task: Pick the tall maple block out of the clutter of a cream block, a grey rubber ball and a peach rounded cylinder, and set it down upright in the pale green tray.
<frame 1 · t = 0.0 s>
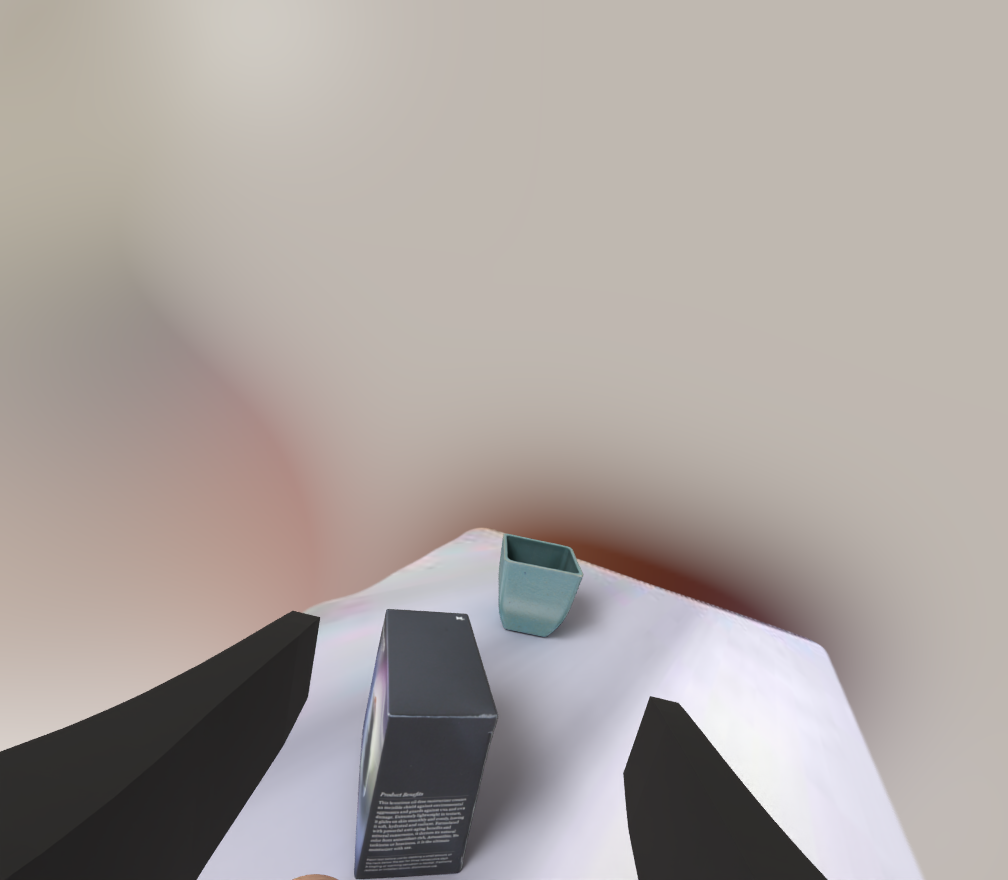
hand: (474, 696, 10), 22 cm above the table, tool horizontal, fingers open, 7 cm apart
small box: (402, 797, 32), on the table
flower pot: (522, 624, 58), on the table
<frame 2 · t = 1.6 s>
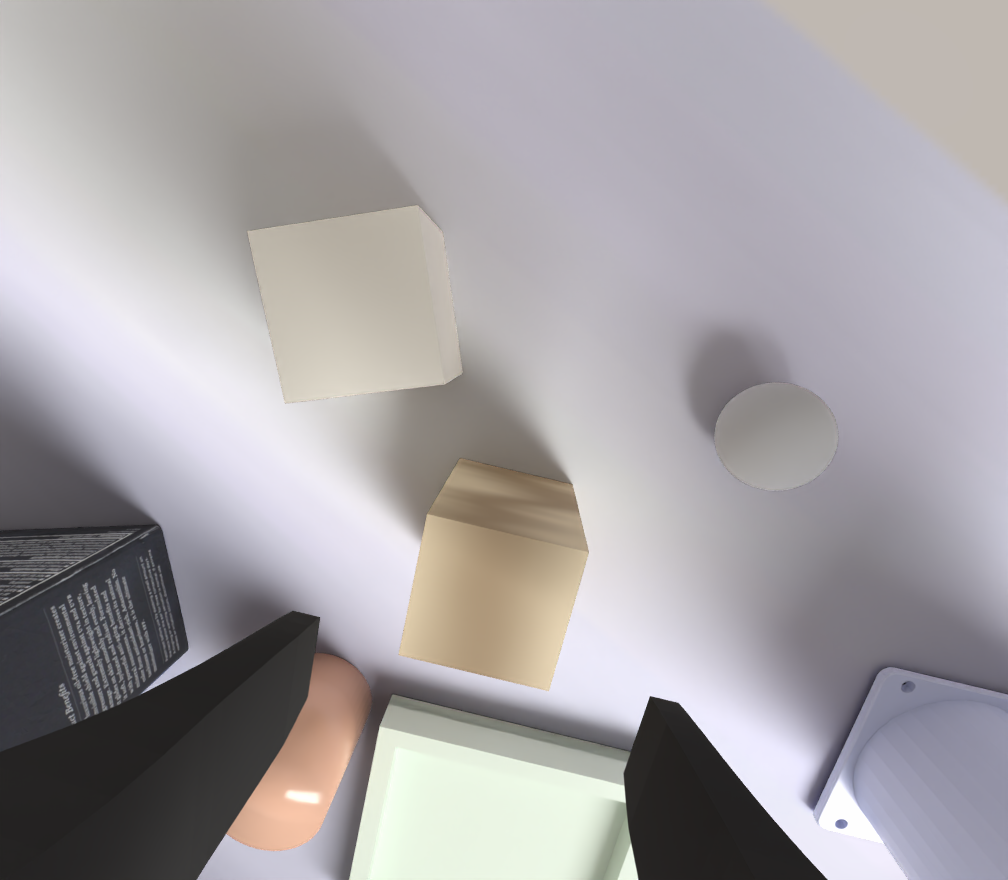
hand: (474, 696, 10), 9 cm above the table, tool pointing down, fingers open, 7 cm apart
maple block: (503, 523, 20), on the table
peach rounded cylinder: (323, 696, 22), on the table
grey ball: (773, 436, 16), point 2 cm above the table
small box: (71, 592, 22), on the table
cream block: (387, 313, 18), on the table
tray: (495, 830, 23), on the table
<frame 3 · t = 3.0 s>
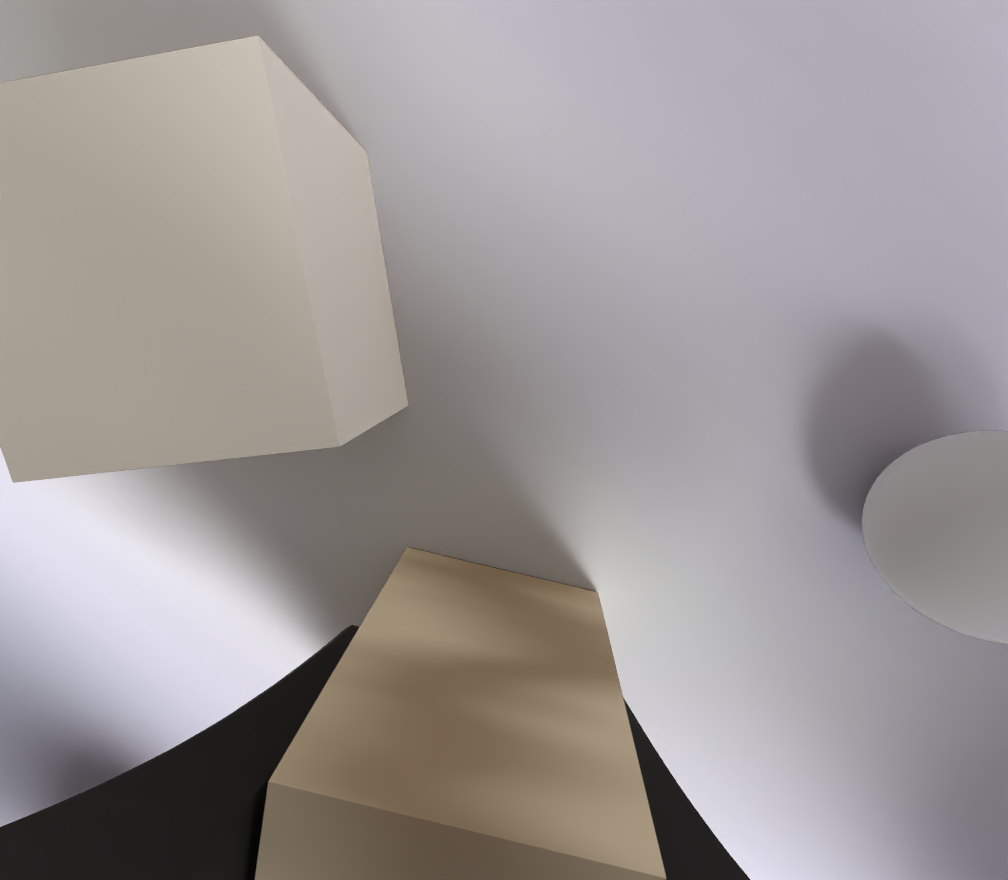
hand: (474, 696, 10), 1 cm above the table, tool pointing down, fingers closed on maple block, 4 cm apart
maple block: (481, 653, 12), on the table, touching gripper
grey ball: (989, 533, 9), point 2 cm above the table
cream block: (276, 301, 10), on the table
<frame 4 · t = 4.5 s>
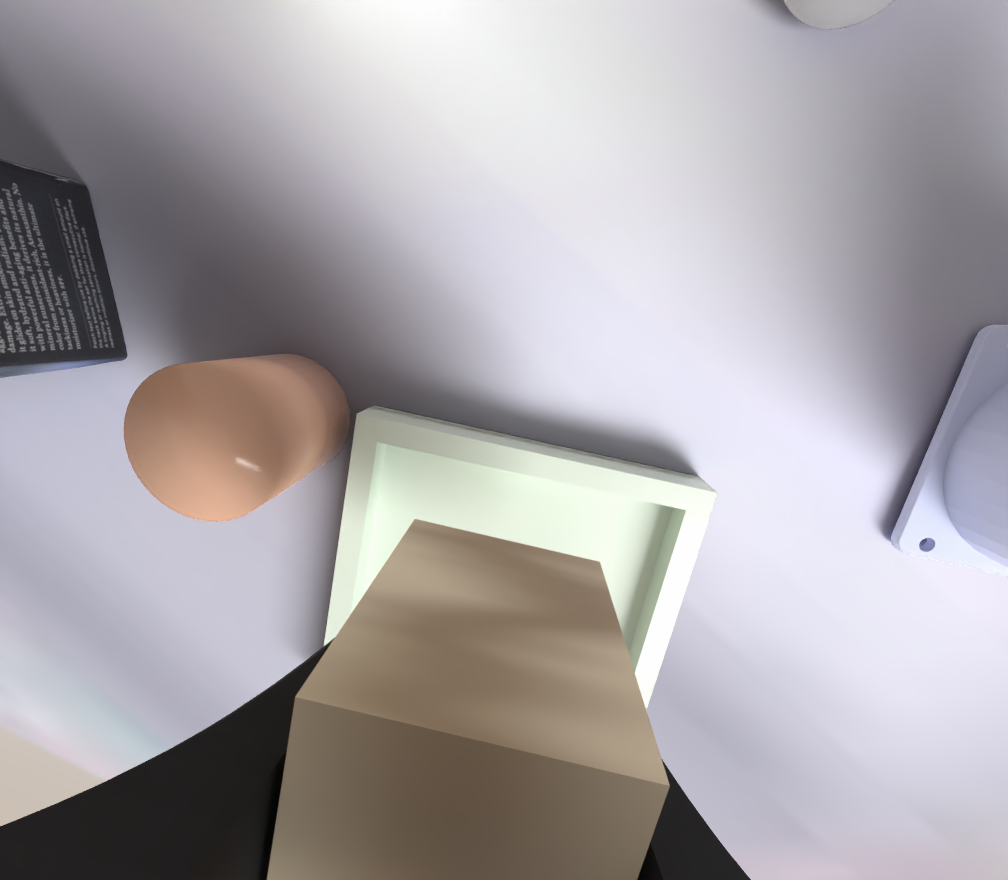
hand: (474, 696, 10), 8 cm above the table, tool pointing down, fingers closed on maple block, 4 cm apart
maple block: (487, 623, 12), point 7 cm above the table, touching gripper
peach rounded cylinder: (292, 413, 18), on the table
tray: (502, 587, 19), on the table
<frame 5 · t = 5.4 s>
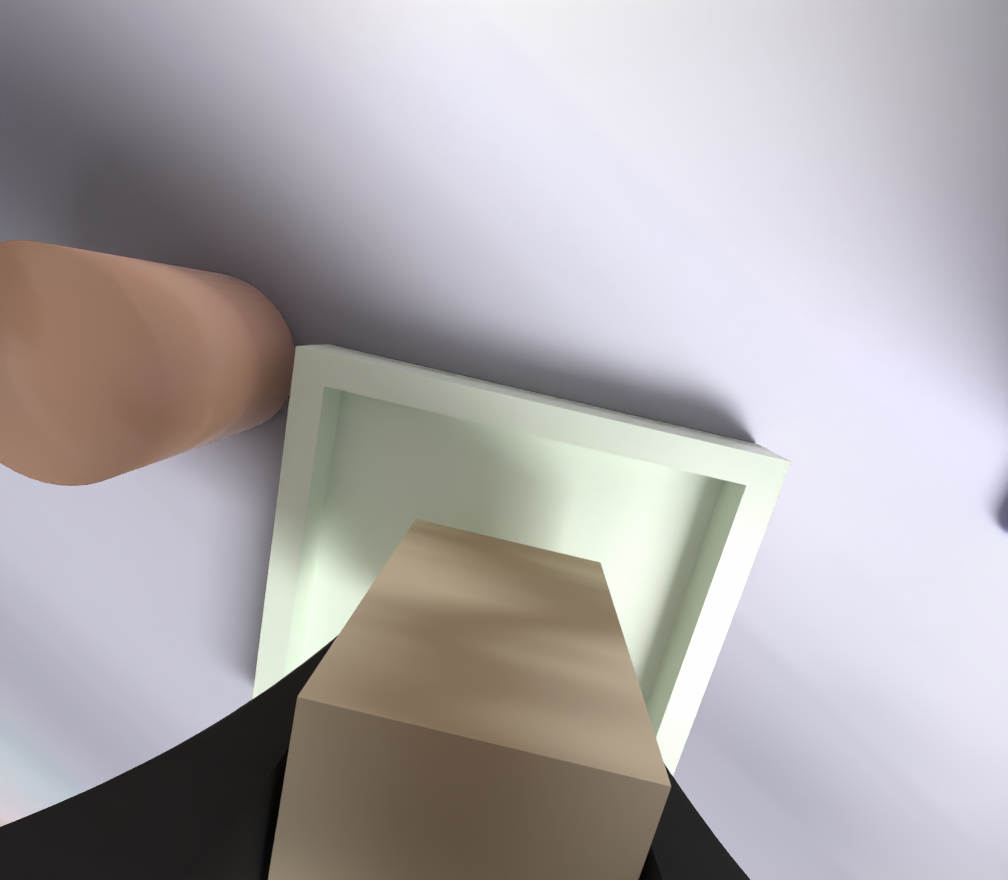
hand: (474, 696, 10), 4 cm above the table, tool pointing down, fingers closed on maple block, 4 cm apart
maple block: (487, 624, 12), point 3 cm above the table, touching gripper
peach rounded cylinder: (219, 355, 14), on the table
tray: (493, 587, 15), on the table
when the fingers open (3 cm above the table, at t = 6.1 s): maple block stays where it is, resting on tray.
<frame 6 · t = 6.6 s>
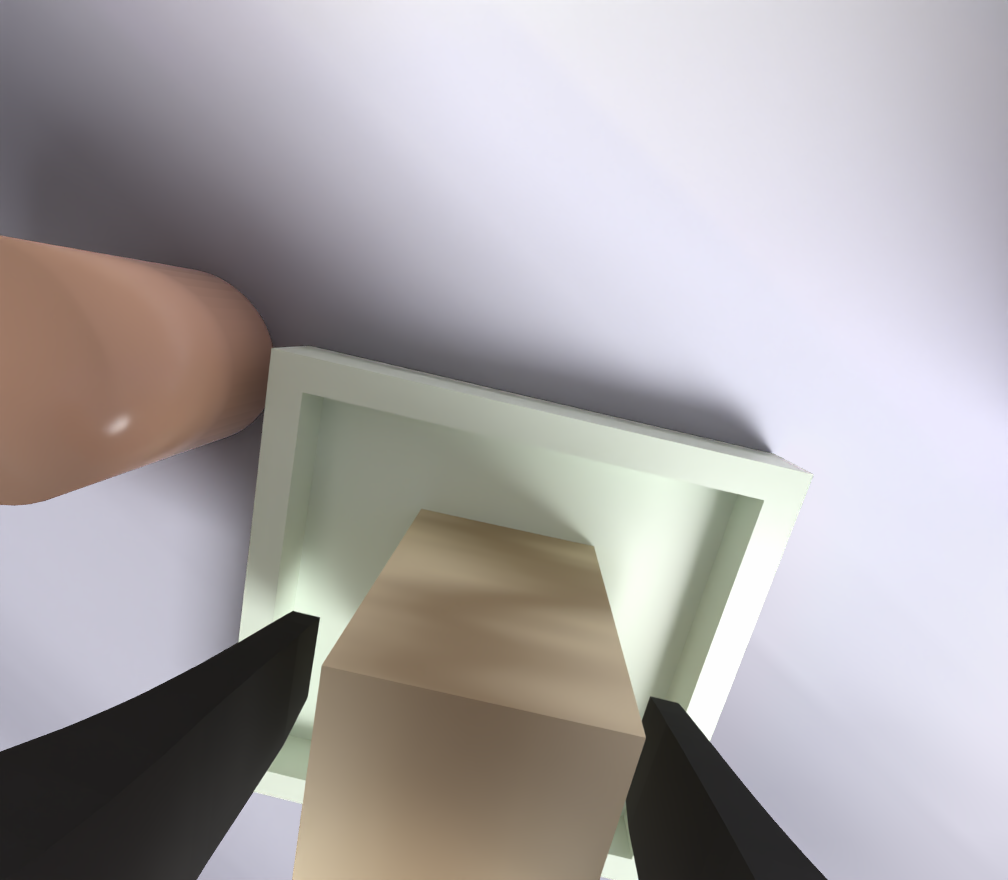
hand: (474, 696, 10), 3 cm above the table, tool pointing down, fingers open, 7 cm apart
maple block: (490, 604, 13), point 1 cm above the table, touching tray
peach rounded cylinder: (192, 357, 13), on the table
tray: (489, 607, 14), on the table
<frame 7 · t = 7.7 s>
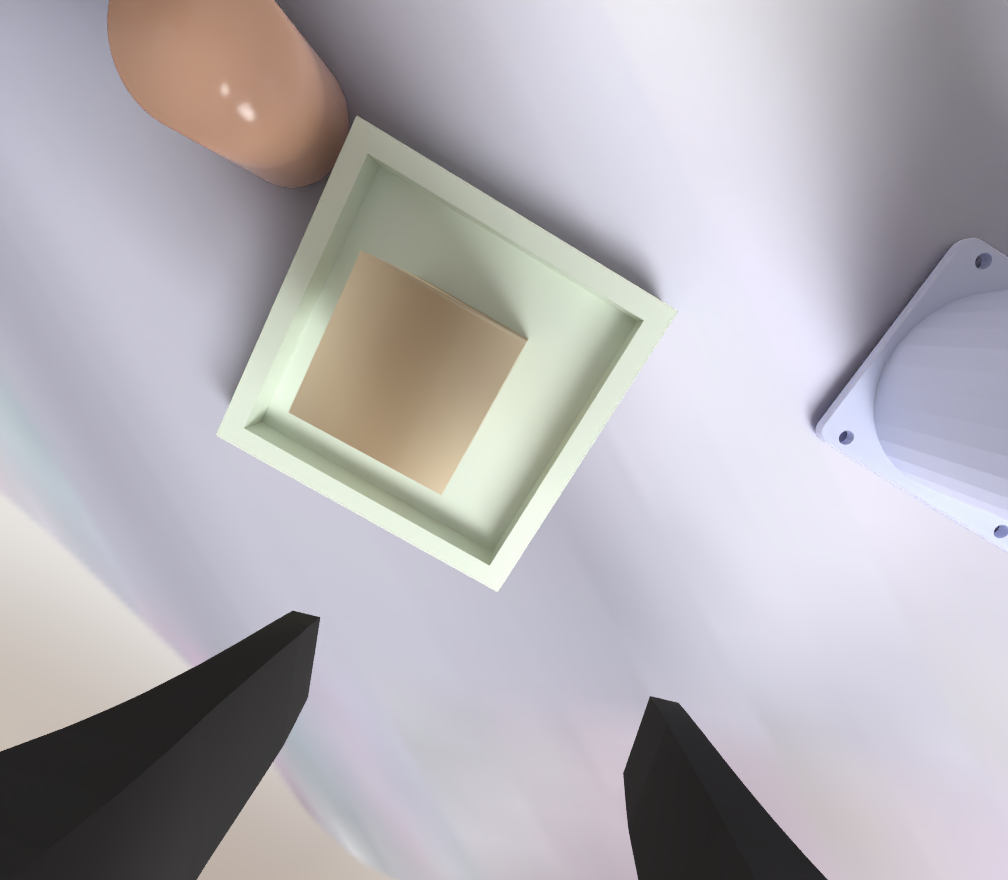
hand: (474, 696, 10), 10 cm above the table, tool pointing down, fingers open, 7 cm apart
maple block: (445, 363, 18), point 1 cm above the table, touching tray
peach rounded cylinder: (288, 119, 17), on the table
tray: (443, 372, 19), on the table
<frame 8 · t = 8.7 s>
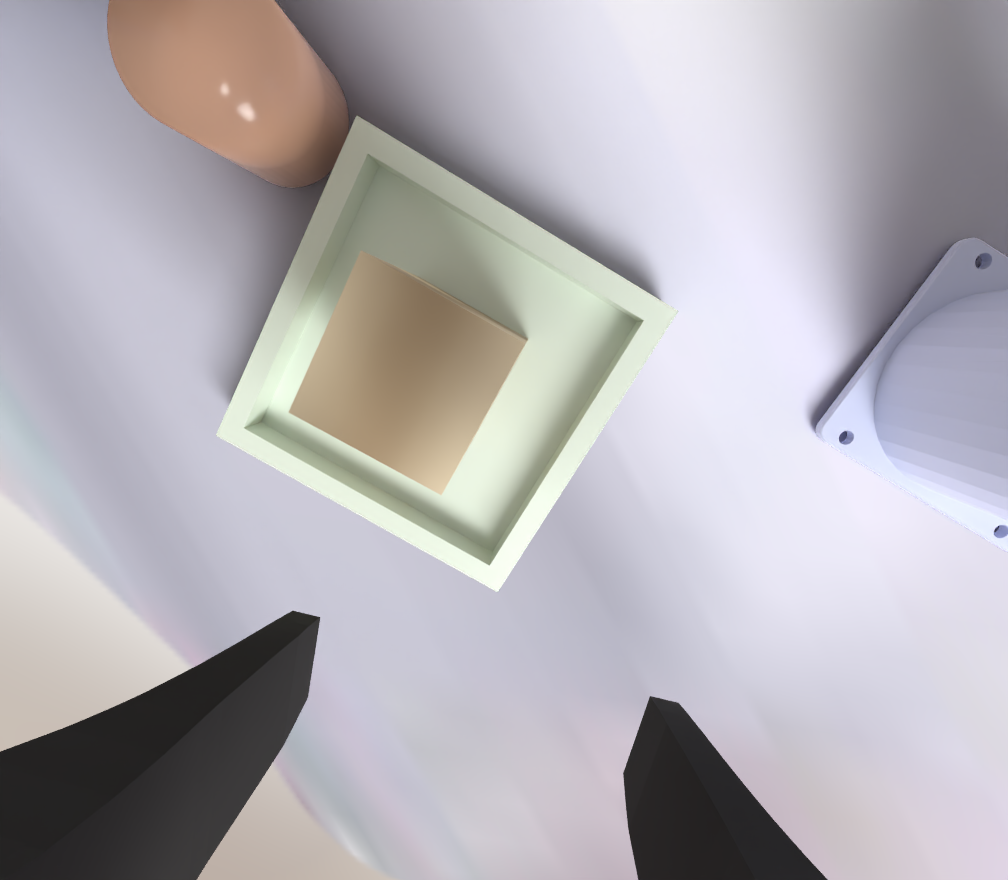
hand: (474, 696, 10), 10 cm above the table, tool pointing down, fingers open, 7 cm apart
maple block: (445, 363, 18), point 1 cm above the table, touching tray
peach rounded cylinder: (288, 119, 17), on the table
tray: (443, 372, 19), on the table
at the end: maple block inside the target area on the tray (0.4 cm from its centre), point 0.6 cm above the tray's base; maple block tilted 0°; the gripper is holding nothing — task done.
